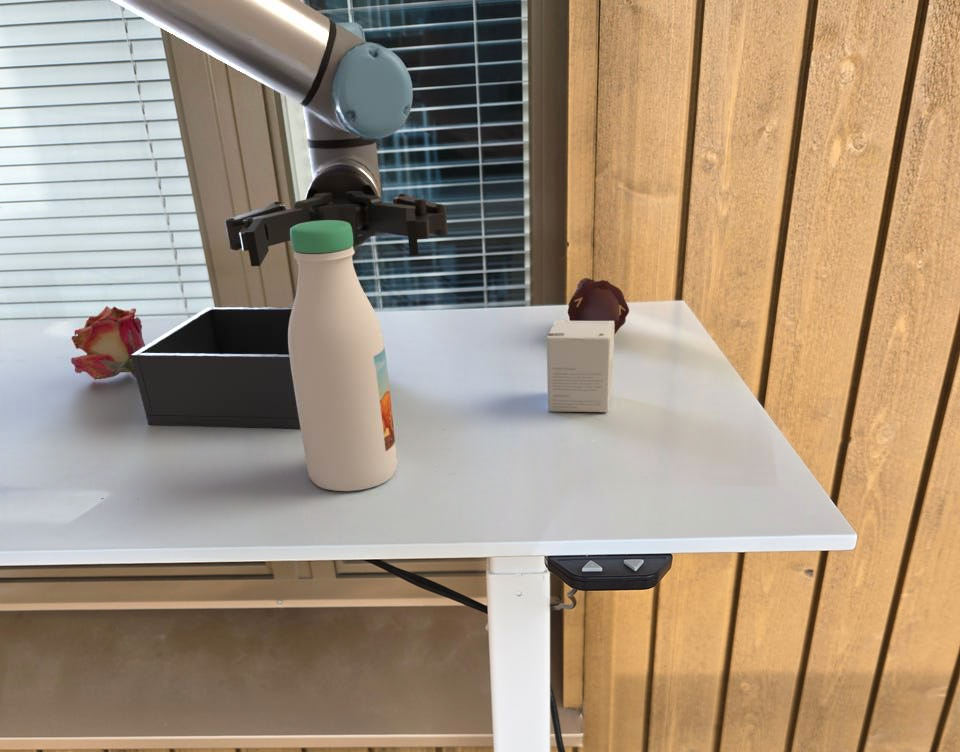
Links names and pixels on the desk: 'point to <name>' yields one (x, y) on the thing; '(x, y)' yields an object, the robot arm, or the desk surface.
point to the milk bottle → (338, 364)
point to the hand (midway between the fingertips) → (332, 243)
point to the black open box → (220, 371)
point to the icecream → (598, 303)
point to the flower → (108, 343)
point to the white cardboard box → (580, 366)
